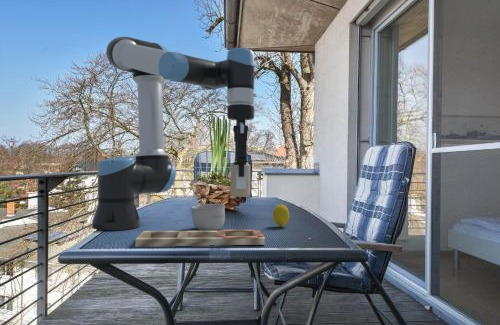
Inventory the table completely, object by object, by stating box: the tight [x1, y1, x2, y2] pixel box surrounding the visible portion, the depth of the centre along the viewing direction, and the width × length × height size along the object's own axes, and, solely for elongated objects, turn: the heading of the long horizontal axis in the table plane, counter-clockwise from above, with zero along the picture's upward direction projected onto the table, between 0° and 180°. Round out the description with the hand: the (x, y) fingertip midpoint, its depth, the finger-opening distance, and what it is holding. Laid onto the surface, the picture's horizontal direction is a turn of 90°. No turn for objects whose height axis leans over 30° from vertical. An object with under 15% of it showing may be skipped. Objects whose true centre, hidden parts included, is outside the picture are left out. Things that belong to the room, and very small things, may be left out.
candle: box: [230, 160, 251, 198], centre depth 114 cm, size 6×6×10 cm
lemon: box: [272, 203, 290, 228], centre depth 139 cm, size 6×6×8 cm
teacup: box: [191, 203, 226, 231], centre depth 134 cm, size 14×11×8 cm
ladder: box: [134, 229, 266, 248], centre depth 114 cm, size 34×12×2 cm, turn 95°
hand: (240, 188), depth 114 cm, fingers closed on candle, 5 cm apart
